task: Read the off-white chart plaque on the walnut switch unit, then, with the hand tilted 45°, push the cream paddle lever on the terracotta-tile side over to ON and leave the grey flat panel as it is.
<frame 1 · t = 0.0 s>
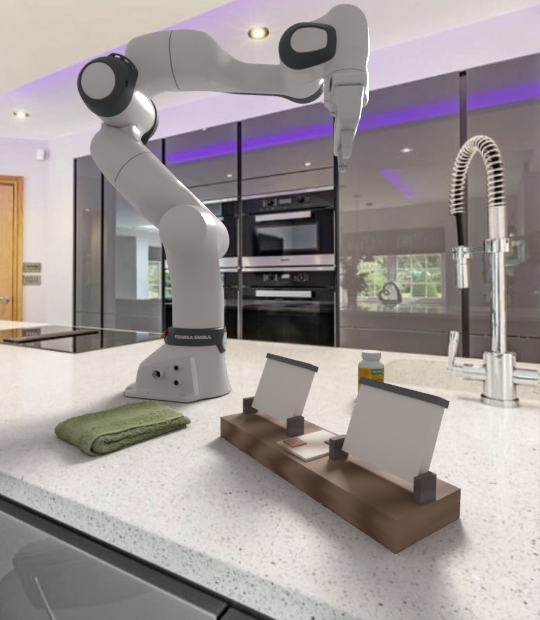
hand: (344, 164, 83), 48 cm above the countertop, tool pointing down, fingers open, 8 cm apart
washcloth: (125, 434, 65), on the countertop
switch base: (315, 468, 52), on the countertop
supplement bottle: (370, 397, 85), on the countertop
grey flat panel: (390, 426, 44), point 8 cm above the countertop, hinge at -22.0°
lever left: (282, 387, 61), point 8 cm above the countertop, hinge at -22.0°
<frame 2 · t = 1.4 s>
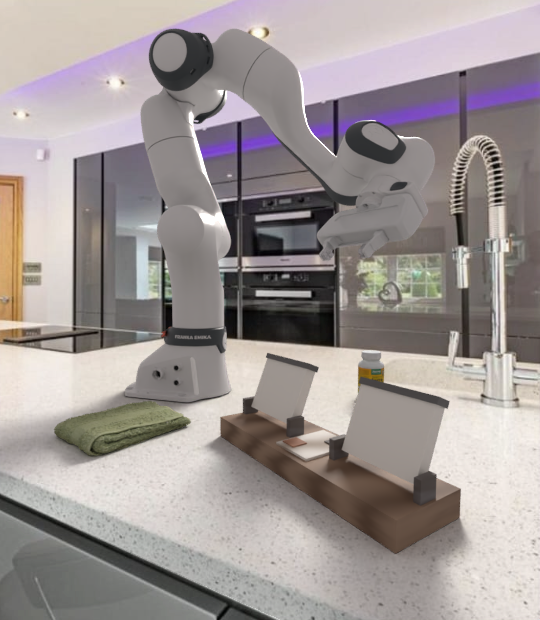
hand: (342, 256, 70), 28 cm above the countertop, tool tilted 45°, fingers open, 8 cm apart
nothing on the countertop moved.
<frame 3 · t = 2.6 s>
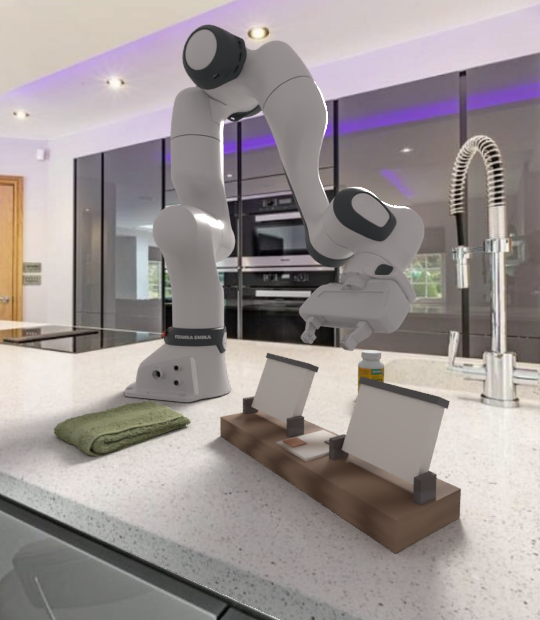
hand: (324, 344, 65), 14 cm above the countertop, tool tilted 45°, fingers open, 8 cm apart
nothing on the countertop moved.
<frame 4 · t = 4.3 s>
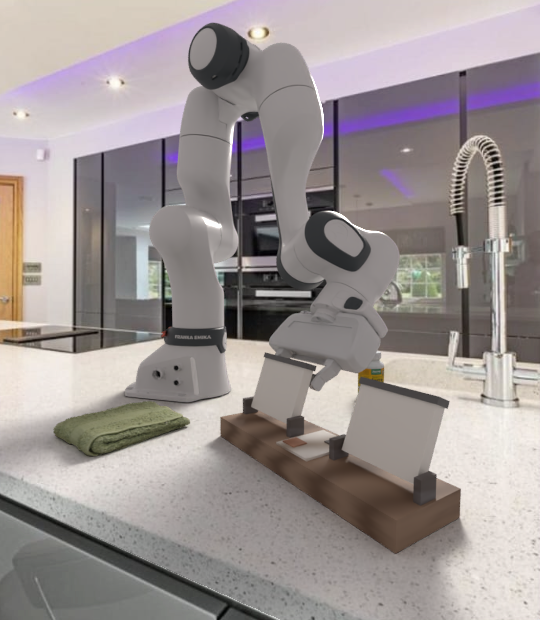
hand: (291, 381, 61), 9 cm above the countertop, tool tilted 45°
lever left: (281, 387, 61), point 8 cm above the countertop, hinge at -19.1°, touching gripper
everything else where it was.
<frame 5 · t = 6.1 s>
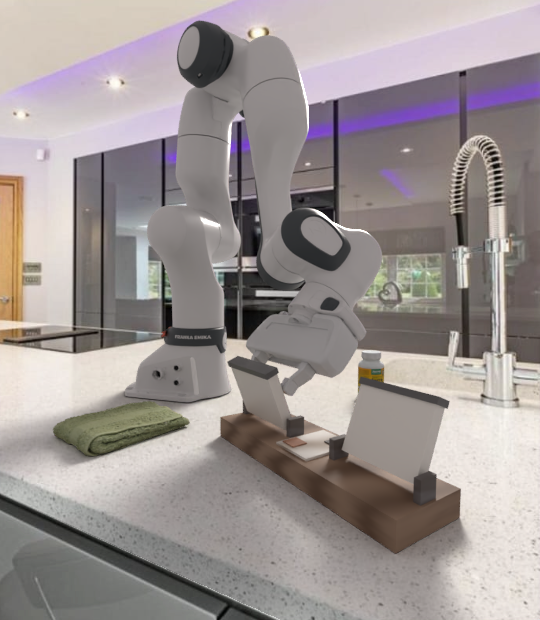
hand: (265, 385, 59), 9 cm above the countertop, tool tilted 45°
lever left: (259, 391, 58), point 8 cm above the countertop, hinge at 21.7°, touching gripper
everything else where it was.
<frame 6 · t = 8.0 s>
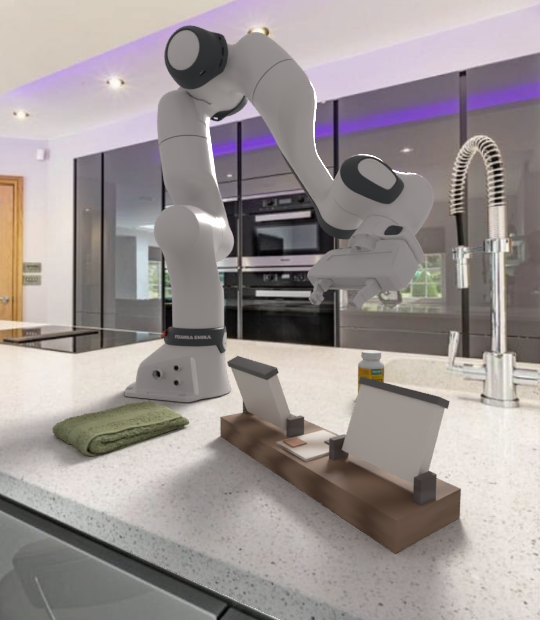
hand: (332, 303, 65), 20 cm above the countertop, tool tilted 45°, fingers open, 8 cm apart
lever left: (259, 391, 58), point 8 cm above the countertop, hinge at 21.9°
everything else where it was.
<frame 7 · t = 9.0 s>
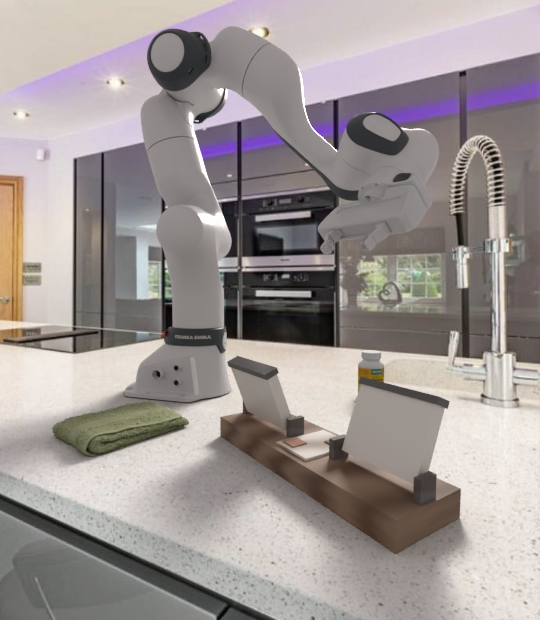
hand: (343, 249, 68), 29 cm above the countertop, tool tilted 45°, fingers open, 8 cm apart
nothing on the countertop moved.
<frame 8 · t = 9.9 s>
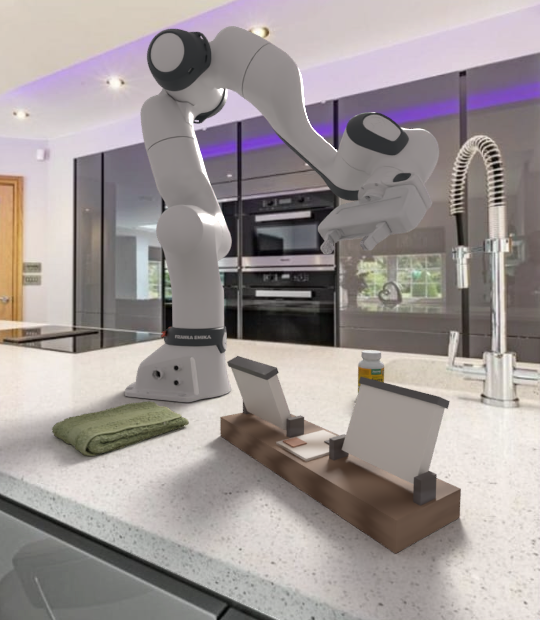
hand: (343, 249, 68), 29 cm above the countertop, tool tilted 45°, fingers open, 8 cm apart
nothing on the countertop moved.
at the end: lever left at +22° (first picture: -22°); grey flat panel at -22° (first picture: -22°) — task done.
